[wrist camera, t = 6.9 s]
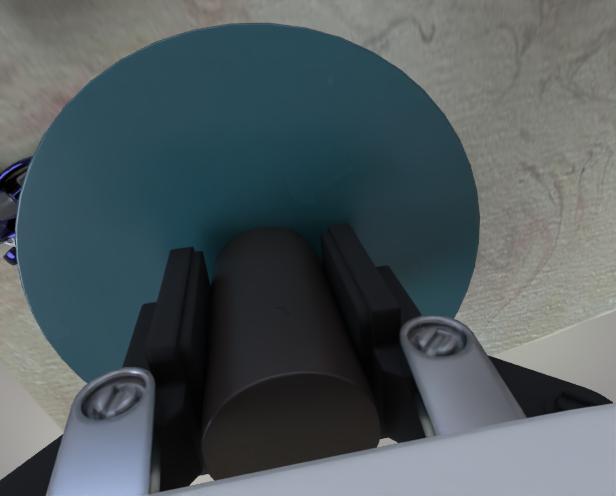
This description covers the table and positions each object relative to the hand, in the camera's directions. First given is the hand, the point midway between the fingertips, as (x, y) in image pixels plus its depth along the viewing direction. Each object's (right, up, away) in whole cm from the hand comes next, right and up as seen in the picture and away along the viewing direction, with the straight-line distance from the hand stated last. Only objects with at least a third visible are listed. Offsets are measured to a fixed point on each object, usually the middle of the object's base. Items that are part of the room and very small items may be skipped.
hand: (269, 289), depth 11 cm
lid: (0, +1, +1) cm, 1 cm away
